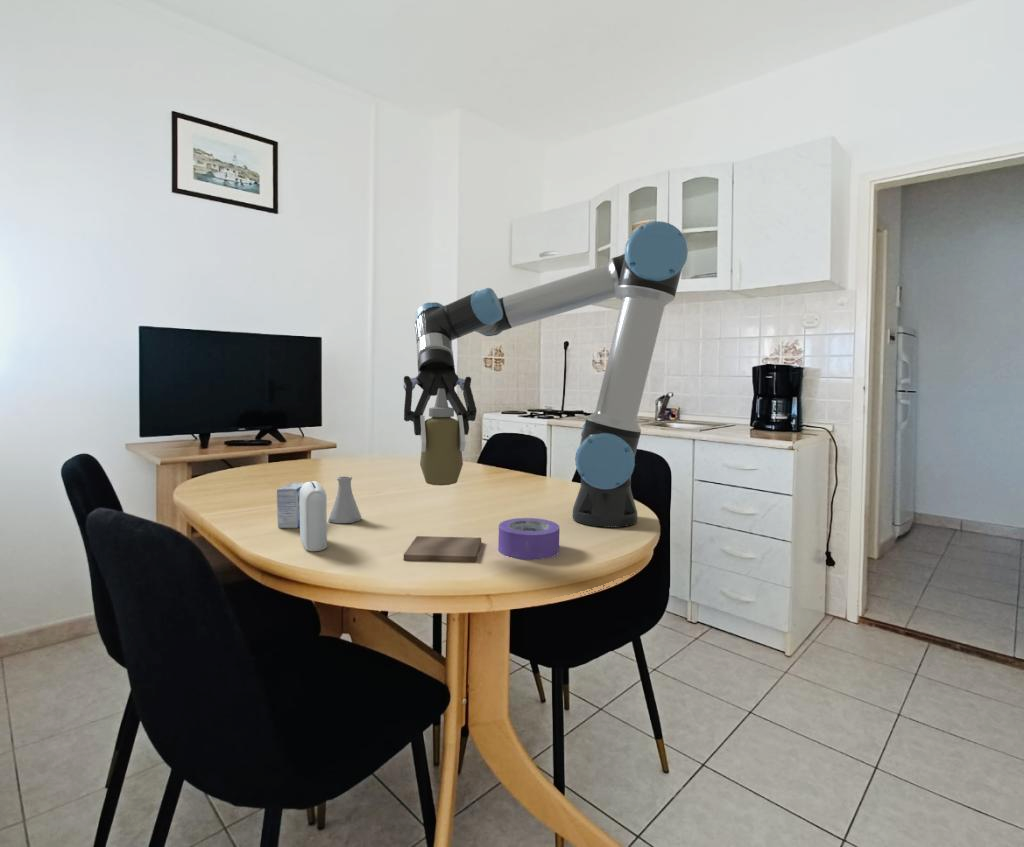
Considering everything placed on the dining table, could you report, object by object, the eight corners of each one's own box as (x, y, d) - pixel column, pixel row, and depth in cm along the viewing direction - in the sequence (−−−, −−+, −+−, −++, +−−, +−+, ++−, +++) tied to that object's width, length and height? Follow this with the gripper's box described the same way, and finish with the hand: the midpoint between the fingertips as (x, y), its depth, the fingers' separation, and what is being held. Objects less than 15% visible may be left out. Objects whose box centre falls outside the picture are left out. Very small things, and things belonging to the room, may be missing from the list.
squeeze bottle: (421, 479, 110) (421, 388, 109) (463, 479, 111) (463, 388, 109) (418, 487, 102) (417, 388, 101) (462, 487, 103) (462, 389, 101)
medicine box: (297, 528, 120) (296, 489, 120) (276, 528, 120) (276, 488, 120) (311, 519, 128) (310, 482, 128) (291, 519, 128) (291, 482, 128)
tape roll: (556, 562, 101) (556, 535, 101) (492, 558, 103) (493, 531, 103) (561, 544, 113) (561, 519, 112) (504, 540, 115) (504, 516, 114)
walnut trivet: (481, 542, 112) (481, 537, 112) (475, 561, 100) (475, 556, 100) (416, 541, 112) (416, 536, 112) (403, 560, 101) (403, 554, 100)
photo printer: (298, 539, 113) (297, 478, 112) (320, 536, 115) (320, 477, 114) (305, 553, 103) (304, 487, 103) (329, 550, 105) (328, 485, 105)
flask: (352, 525, 124) (351, 480, 123) (322, 523, 125) (321, 479, 124) (366, 517, 131) (366, 475, 130) (338, 515, 132) (338, 474, 131)
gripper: (479, 373, 122) (492, 458, 107) (388, 372, 118) (389, 460, 103) (483, 347, 116) (498, 433, 102) (388, 345, 112) (389, 434, 97)
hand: (443, 446), depth 102 cm, fingers closed on squeeze bottle, 6 cm apart
